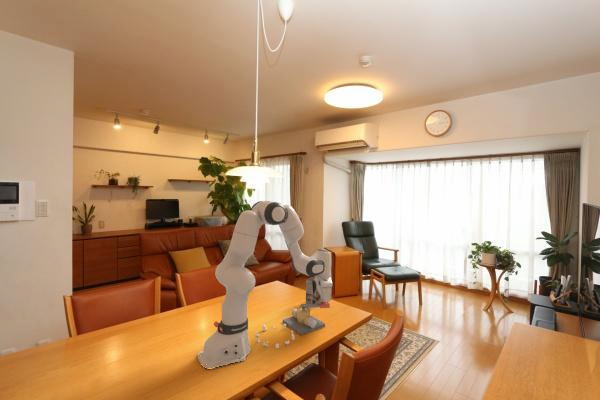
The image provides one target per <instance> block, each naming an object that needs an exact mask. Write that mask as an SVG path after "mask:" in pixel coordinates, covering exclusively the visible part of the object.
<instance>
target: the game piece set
mask: <svg viewBox="0 0 600 400" xmlns="http://www.w3.org/2000/svg"><path fill="white" fill-rule="evenodd" d="M277 327H278V325H276V326H273V329H277ZM286 328H287V325H286V324H284V323H283V329H284V330H286ZM262 329H263V331H264V332H267V331H266V330H267V329H268V328H267V326H266V324H263V325H262ZM273 329H272V330H273ZM260 333H261V331H259V332H258V333H256V334H255V336H256V337H257V340H255V341H256V343H257V344H258V343H259V344H260V343H261V342H262V345H263V346H264V347H268V346H269V344H268V343H269V340H267V341H266V342H265V341H262V340H260V339H261V338H260V336H261V335H260ZM290 334H291V340H293V341H294V340H295V339H296V337H295V336H296V335H295V334H294V330H291V331H290ZM290 343H291V342H290V339H288V340H286V341H284V345H287V346H289V344H290ZM275 349H280V346H279V343H276V344H275Z"/></svg>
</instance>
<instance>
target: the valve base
mask: <svg viewBox="0 0 600 400" xmlns="http://www.w3.org/2000/svg"><path fill="white" fill-rule="evenodd" d="M282 324H283V325H284V324H286V327H289V329H291V330H292V331H293V332H295V333H296V334H298V335H300V336H304V335H307V334H309V333H312V332H315V331H317V330H319V329H322V328H324V327H326V322H323V321H322V320H320V319H318V318H317V317H315V316H313V315H312V314H311V310H310V308H305V309H303V308H301V307H300V308H298V309H297V308H293V309H292V310H291V316H290V317H287V318H284V319H282Z"/></svg>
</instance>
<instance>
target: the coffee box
mask: <svg viewBox="0 0 600 400" xmlns="http://www.w3.org/2000/svg"><path fill="white" fill-rule="evenodd" d="M316 284H317V283H316V282H315V276H314V277H311V276H310V277H309V278H306V280H305V304H319V302H321V297H320V294H319V292H318V290H317V287H316Z"/></svg>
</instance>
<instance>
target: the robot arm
mask: <svg viewBox="0 0 600 400" xmlns="http://www.w3.org/2000/svg"><path fill="white" fill-rule="evenodd" d="M263 225H269V226H277V225H278V227H279V229H280V231H281V234H282V235H283V238H284V241H285V244H286V247H287V249H288V253H289V255H290V258H291V265H292V269H293V270H294V271H295V272H297V273H301V274H303V275H306V276H307V277H310V278H311V277H314V276H315V282H316V283H317V284H316V287H317V290H318V292H319V294H320V297H321V302H329V303H330V302H331V300H332V299H331V298H332V287H333V281H332V272H331V268H332V256H331V252H329V251H328V250H326V249H321V248H319V249H316V251H315V252H314V253H313V254H312V255H311V256H308V255H306V254H304V253H303V251H302V250H301V247H300V244H299V241H300V240H301V239H302V238H303V236H304V234H305V229H304V225H303V223H302V221H301V219H300V217H299V215H298V214H297V212H296V210H295V209H294V207H293V206H292V205H289V204H284V205H283V204H282V203H279V202H278V201H271V200H262V201H260V200H259V201H257V202H255V203H254V204H253V205H251V207H250V209H249V210H244V211H242V212H241V213H240V214H239V216H238V219H237V220H236V224H235V226H234V229H233V233H232V237H231V240H230V243H229V246H228V249H227V252H226V254H225V255H224V258H223V259H222V261H221V262H220V263H219V264H217V266H216V268H215V271H214V274H215V277H216V279H217V281H218V283H220V284H221V285H222V286H223V287H225V291H226V292H225V297H224V300H223V301H222V303H221V320H220V322H219V321H217V320H216V321H214V322H213V326H214V327H215V328H217V329H216V330H215V331H214V333H212V334H211V335H210V336H209V337H208V338H207V339H206V340H205V342H204V344H203V349H202V350H200V351H198V354H197V360H198V359H199V361H200V363H201V364H202V365H203V366H204V367H206V368H213V367H217V366H222V365H226V364H230V363H234V362H238V363H240V361H241V362H244V361H246V358H247V355H249V353H250V352H251V351H252V350H251V344H250V341H249V335H248V334H249V333H248V330H249V319H248V299H249V296H250V293H251V292H252V291H253V290H254V288H255V286H256V277H255V275H254V274H253V273H252V271H251V270H249V268H247V267H245V265H246V263H247V261H248V259H249V258H251V256H252V255H253V254H254V253H255V250H256V249H255V248H256V244H257V241H258V236H259V232H260V229H261V227H262V226H263ZM200 355H201V356H200ZM199 361H198V362H199ZM200 363H199V364H200ZM201 364H200V365H201ZM206 364H207V365H206ZM234 364H235V363H234ZM230 365H231V364H230ZM226 366H227V365H226ZM204 367H203V368H204ZM222 367H223V366H222Z"/></svg>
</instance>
